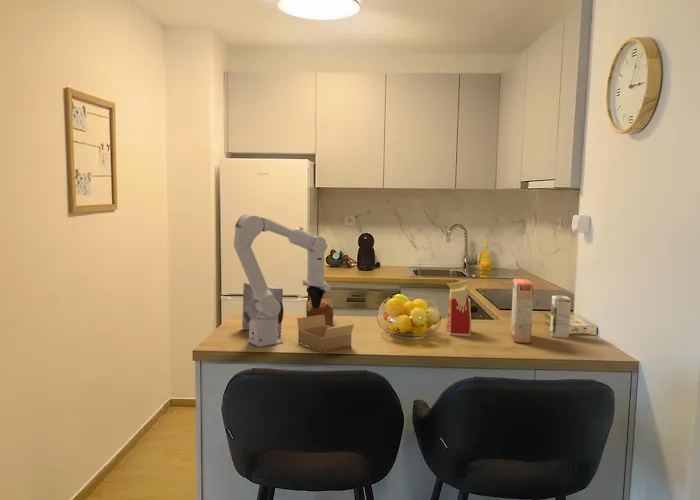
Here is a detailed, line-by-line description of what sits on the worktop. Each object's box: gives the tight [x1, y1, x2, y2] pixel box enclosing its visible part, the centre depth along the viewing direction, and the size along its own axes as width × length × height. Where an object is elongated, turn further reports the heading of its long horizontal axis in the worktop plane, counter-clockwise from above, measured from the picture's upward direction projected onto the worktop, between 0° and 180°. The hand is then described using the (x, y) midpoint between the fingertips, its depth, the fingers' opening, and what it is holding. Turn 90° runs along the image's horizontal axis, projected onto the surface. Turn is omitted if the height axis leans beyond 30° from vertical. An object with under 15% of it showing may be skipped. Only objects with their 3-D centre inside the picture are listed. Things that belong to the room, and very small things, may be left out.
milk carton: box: [445, 279, 472, 337], centre depth 204 cm, size 9×9×20 cm
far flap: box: [296, 315, 326, 330], centre depth 191 cm, size 11×4×1 cm
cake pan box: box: [241, 281, 284, 335], centre depth 201 cm, size 19×5×18 cm, turn 47°
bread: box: [305, 297, 335, 327], centre depth 216 cm, size 19×11×10 cm, turn 3°
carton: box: [297, 326, 352, 353], centre depth 185 cm, size 12×14×4 cm
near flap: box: [323, 323, 355, 339], centre depth 179 cm, size 11×4×1 cm
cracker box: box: [510, 278, 535, 344], centre depth 196 cm, size 14×6×21 cm, turn 168°
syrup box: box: [549, 295, 572, 339], centre depth 201 cm, size 6×6×14 cm
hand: (316, 307), depth 196 cm, fingers closed
